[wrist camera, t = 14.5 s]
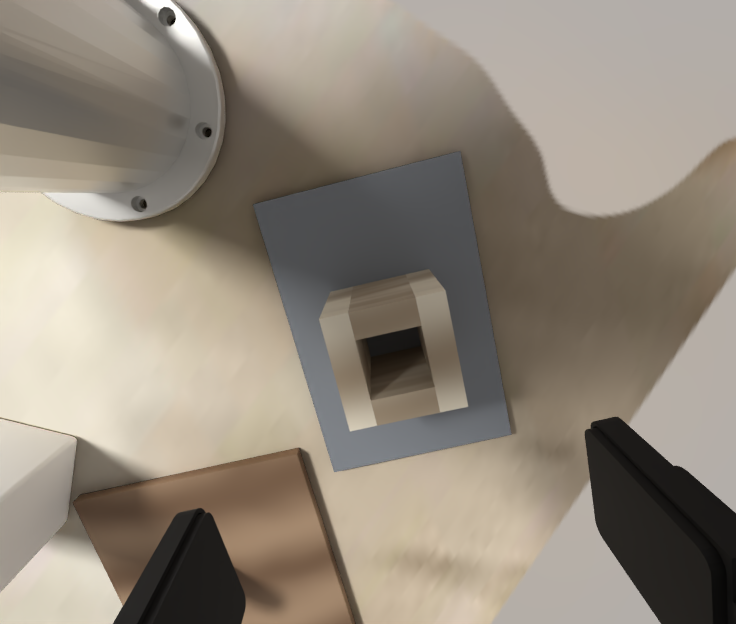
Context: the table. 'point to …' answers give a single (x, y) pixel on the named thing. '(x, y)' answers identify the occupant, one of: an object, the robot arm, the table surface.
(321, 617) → the peg stand
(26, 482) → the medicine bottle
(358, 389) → the ring block
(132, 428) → the table surface
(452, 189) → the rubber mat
